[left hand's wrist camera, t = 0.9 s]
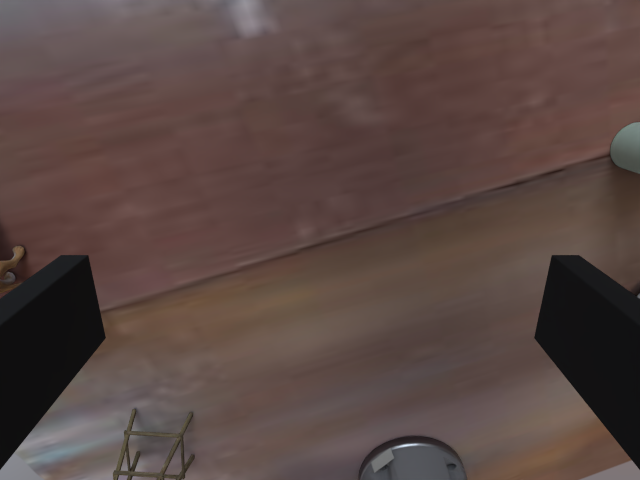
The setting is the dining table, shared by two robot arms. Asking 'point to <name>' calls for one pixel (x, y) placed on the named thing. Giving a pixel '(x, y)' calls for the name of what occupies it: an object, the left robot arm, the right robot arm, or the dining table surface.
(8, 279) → the lion figurine
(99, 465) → the dining table surface
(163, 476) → the miniature windmill
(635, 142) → the bottle
